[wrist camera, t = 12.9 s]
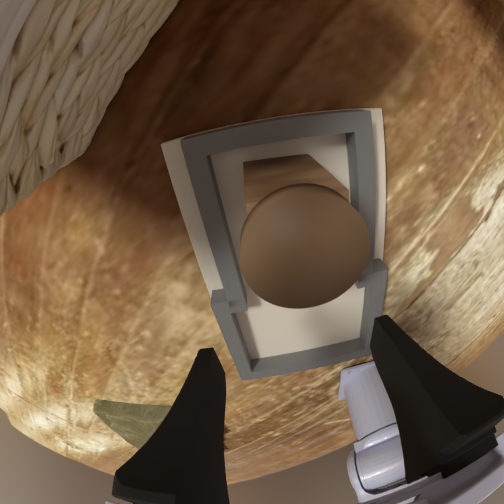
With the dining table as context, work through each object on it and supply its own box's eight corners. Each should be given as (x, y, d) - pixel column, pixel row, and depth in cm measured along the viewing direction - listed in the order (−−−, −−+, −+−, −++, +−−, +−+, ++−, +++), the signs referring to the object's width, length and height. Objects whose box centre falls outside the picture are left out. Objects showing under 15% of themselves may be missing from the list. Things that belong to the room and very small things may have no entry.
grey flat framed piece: (376, 107, 15) (393, 110, 13) (369, 335, 26) (376, 352, 24) (163, 142, 16) (153, 148, 14) (238, 361, 27) (239, 380, 25)
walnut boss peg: (315, 145, 16) (373, 187, 9) (319, 218, 18) (364, 297, 11) (233, 155, 16) (228, 205, 9) (246, 228, 18) (251, 316, 11)
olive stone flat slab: (143, 441, 44) (141, 455, 41) (94, 396, 34) (89, 414, 31) (230, 445, 44) (230, 460, 41) (206, 402, 33) (205, 424, 30)
